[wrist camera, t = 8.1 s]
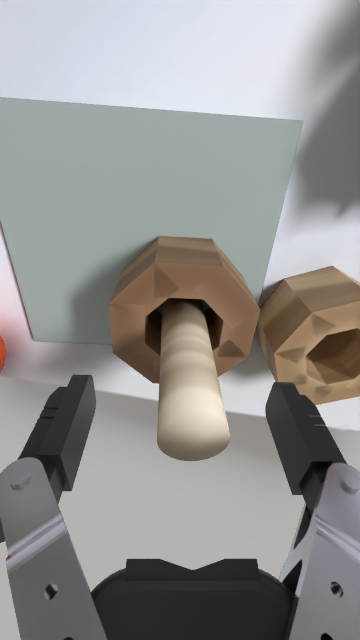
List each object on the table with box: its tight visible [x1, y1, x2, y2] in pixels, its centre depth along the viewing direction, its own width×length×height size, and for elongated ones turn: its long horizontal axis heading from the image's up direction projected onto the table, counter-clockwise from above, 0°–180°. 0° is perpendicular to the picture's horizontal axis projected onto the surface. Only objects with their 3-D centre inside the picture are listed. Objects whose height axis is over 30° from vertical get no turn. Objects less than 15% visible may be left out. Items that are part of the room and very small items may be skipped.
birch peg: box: [157, 298, 230, 461], centre depth 15 cm, size 3×3×12 cm
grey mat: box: [0, 97, 303, 344], centre depth 19 cm, size 16×18×1 cm
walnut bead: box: [109, 236, 260, 383], centre depth 18 cm, size 9×9×5 cm
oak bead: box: [257, 266, 360, 405], centre depth 20 cm, size 9×9×5 cm
